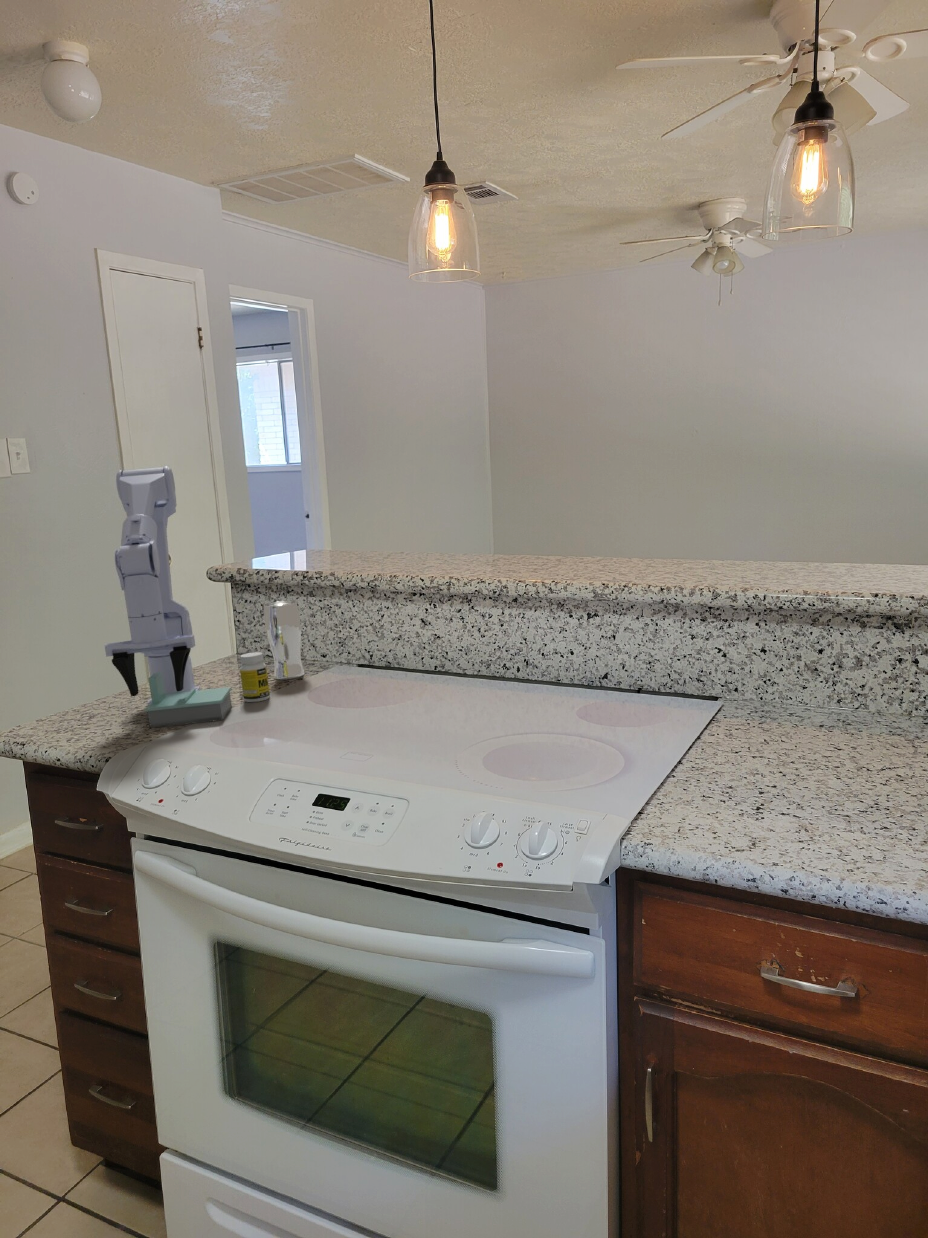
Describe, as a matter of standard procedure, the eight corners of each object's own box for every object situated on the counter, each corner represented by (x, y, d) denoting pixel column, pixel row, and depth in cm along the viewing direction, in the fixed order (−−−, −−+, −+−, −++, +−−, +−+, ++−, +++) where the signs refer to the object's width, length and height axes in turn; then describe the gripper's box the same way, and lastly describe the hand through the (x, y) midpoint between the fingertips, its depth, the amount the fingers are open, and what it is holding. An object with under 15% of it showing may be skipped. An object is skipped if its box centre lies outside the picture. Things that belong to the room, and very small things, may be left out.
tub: (163, 713, 157) (161, 697, 157) (231, 706, 158) (229, 690, 158) (150, 727, 149) (147, 710, 148) (222, 720, 149) (219, 703, 149)
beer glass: (296, 670, 184) (287, 599, 181) (313, 674, 178) (304, 601, 176) (266, 677, 179) (256, 604, 177) (282, 682, 174) (272, 607, 172)
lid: (159, 697, 157) (155, 669, 156) (231, 689, 158) (227, 662, 157) (145, 711, 148) (140, 682, 147) (221, 703, 149) (217, 674, 148)
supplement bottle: (263, 702, 159) (257, 656, 158) (239, 703, 160) (233, 658, 159) (274, 695, 164) (268, 651, 162) (250, 696, 165) (244, 652, 163)
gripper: (94, 622, 145) (107, 702, 148) (183, 613, 146) (195, 693, 149) (107, 616, 152) (120, 692, 155) (193, 607, 153) (203, 683, 156)
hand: (157, 692), depth 152 cm, fingers open, 7 cm apart
